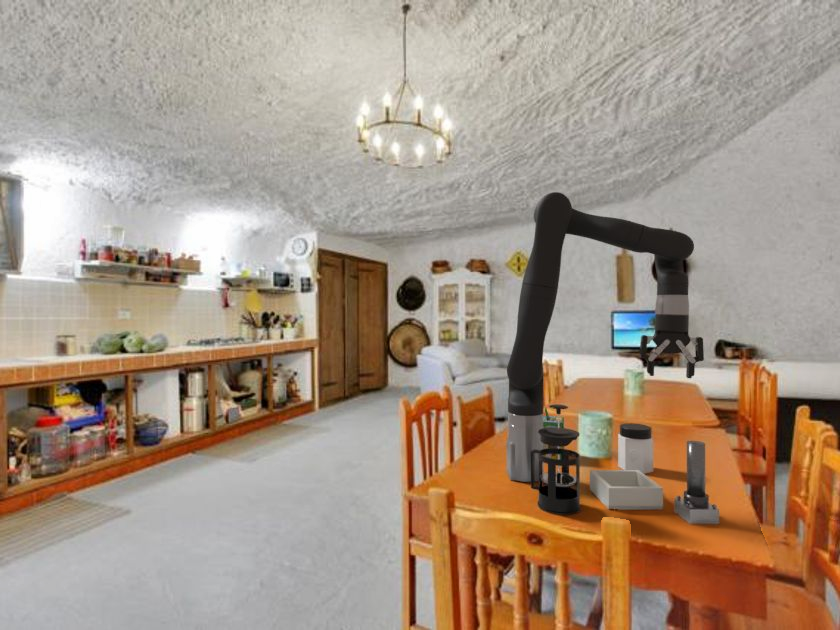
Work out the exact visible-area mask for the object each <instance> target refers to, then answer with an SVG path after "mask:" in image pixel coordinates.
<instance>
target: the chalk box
mask: <svg viewBox="0 0 840 630" xmlns="http://www.w3.org/2000/svg"><path fill="white" fill-rule="evenodd" d="M544 413H545V415H543V428H558V416H552V415H550V414H549V412H548V409H547V407H546V406H544ZM559 428H565V418H564V416H563V417H562V416H559ZM546 448H558V446H551V445H547V444H544V443H543V449H546ZM560 448H561V449H565V446H564V447H560ZM543 456H544V457H547V458H552V459H558V454H545V455H543ZM560 460H562V454H560Z"/></svg>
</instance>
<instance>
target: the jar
mask: <svg viewBox="0 0 840 630" xmlns="http://www.w3.org/2000/svg"><path fill="white" fill-rule="evenodd" d="M617 451H618V452H617V455H618V457H617V458H618V459H617V466H618V468H620V470H639V471H640V472H642V473H643V474H644V475H646V474H649V473H653V472H654V437H652V427H651V426H650V425H645V424H641V423H635V422H633V423H632V422H631V423H630V422H625V423H622V424H621V423H620V425H619V433H618V434H617Z"/></svg>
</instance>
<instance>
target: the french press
mask: <svg viewBox="0 0 840 630" xmlns="http://www.w3.org/2000/svg"><path fill="white" fill-rule="evenodd" d="M548 407H549V408H550V409H555V410H556V415H557V417H558V428H543V429H540V430H539V431H538V433H539V434H540V441H541V442H542V443H544V444H547V445H551V446H558V448H546V449H542V450H535V449H534V450H532V451H531V482H530V488H531V490H535V491H538V500H537V506H538V508H539V509H540V510H542V511H544V512H545V513H549V514H552V515H557V516H558V515H559V516H572V515H577V514H579V512H580V511H581V510H582V506H581V504H580V502H581V497H580V496H581V495H580V493H581V492H580V487H581V485H580V477H581V476H580V473H581V472H580V466H581V465H580V459H581V458H580V453H578V452H577V451H574V450H571V449H567V448H565V447H567V446H569V445H570V444H571V443H572V442H573V441H576V440H577V438H579V437H580V432H579V431H577V430H574V429H570V428H566V427H564V428H559V417H560V415H561V412H562V410H566V409H569V406H568V405H565V404H559V403H558V404H555V403H554V404H550V405H548ZM560 447H564V449H561V448H560ZM535 453H538V458H539V481H538V485H536V482H535ZM545 454H558V459H552V458H547V457H544V456H542V455H545ZM560 454H562V460H560ZM570 457H572V458H571V459H570ZM542 462H543V464H547V472H543V474H542ZM570 466H575V468H576V469H575V471H576V472H575V476H574V475H573V474H570ZM556 467H557V468H556ZM560 468H561V471H560ZM556 469H557V470H556ZM543 484H544V485H543ZM573 487H576V489H575V488H573Z"/></svg>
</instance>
